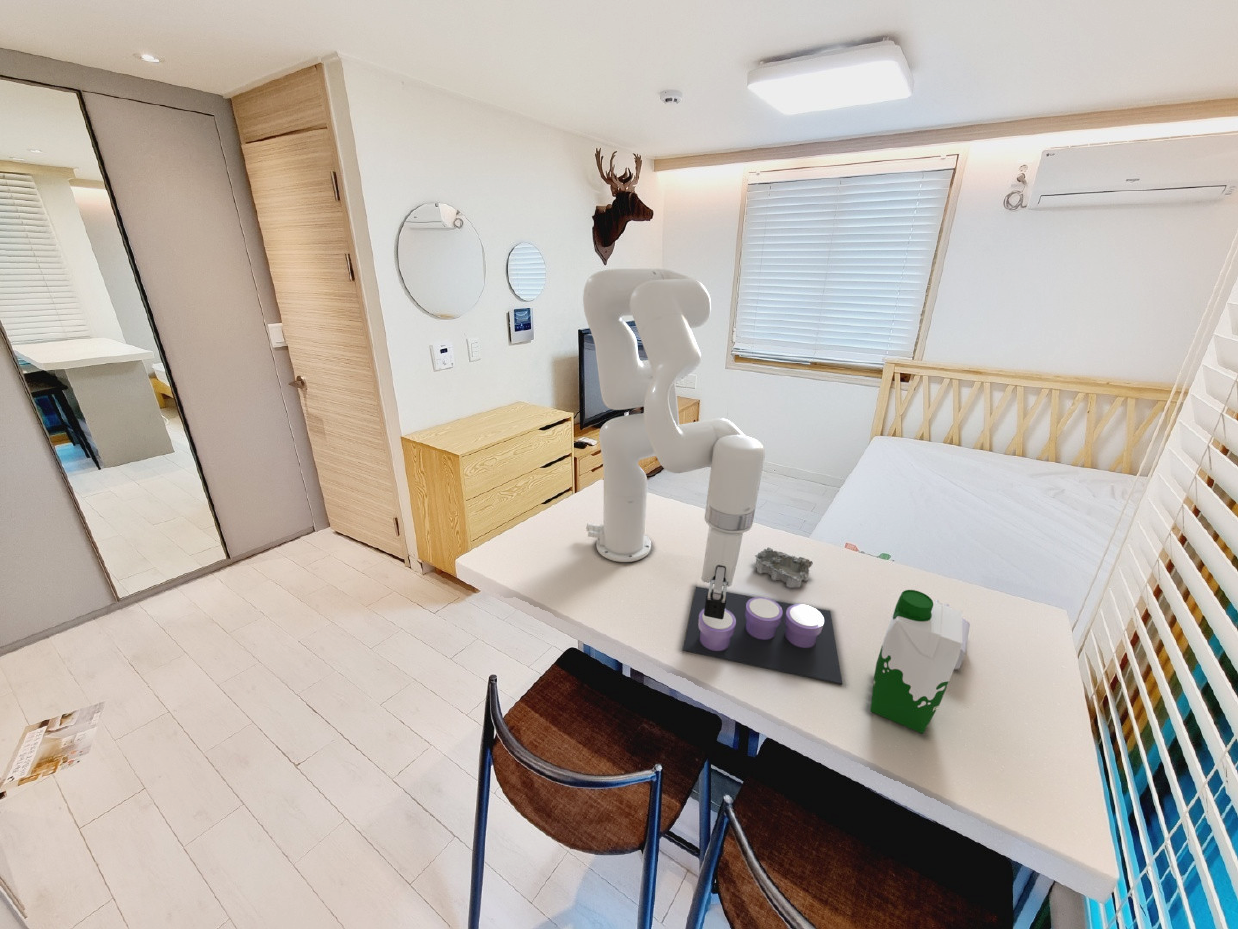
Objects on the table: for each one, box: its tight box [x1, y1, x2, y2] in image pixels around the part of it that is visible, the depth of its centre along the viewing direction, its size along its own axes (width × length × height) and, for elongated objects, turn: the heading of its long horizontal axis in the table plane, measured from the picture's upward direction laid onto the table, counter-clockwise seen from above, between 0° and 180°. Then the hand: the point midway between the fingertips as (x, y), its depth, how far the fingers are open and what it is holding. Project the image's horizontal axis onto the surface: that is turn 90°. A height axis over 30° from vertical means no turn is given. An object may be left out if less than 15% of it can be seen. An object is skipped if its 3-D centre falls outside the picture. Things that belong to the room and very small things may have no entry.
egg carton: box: [754, 546, 814, 589], centre depth 107 cm, size 11×8×4 cm
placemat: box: [682, 586, 843, 685], centre depth 92 cm, size 26×18×1 cm
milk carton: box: [870, 589, 963, 735], centre depth 74 cm, size 9×9×20 cm
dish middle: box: [745, 596, 783, 640], centre depth 91 cm, size 6×6×5 cm
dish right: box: [785, 603, 824, 648], centre depth 90 cm, size 6×6×5 cm
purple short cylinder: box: [698, 609, 736, 651], centre depth 89 cm, size 6×6×5 cm
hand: (716, 597), depth 87 cm, fingers open, 9 cm apart
